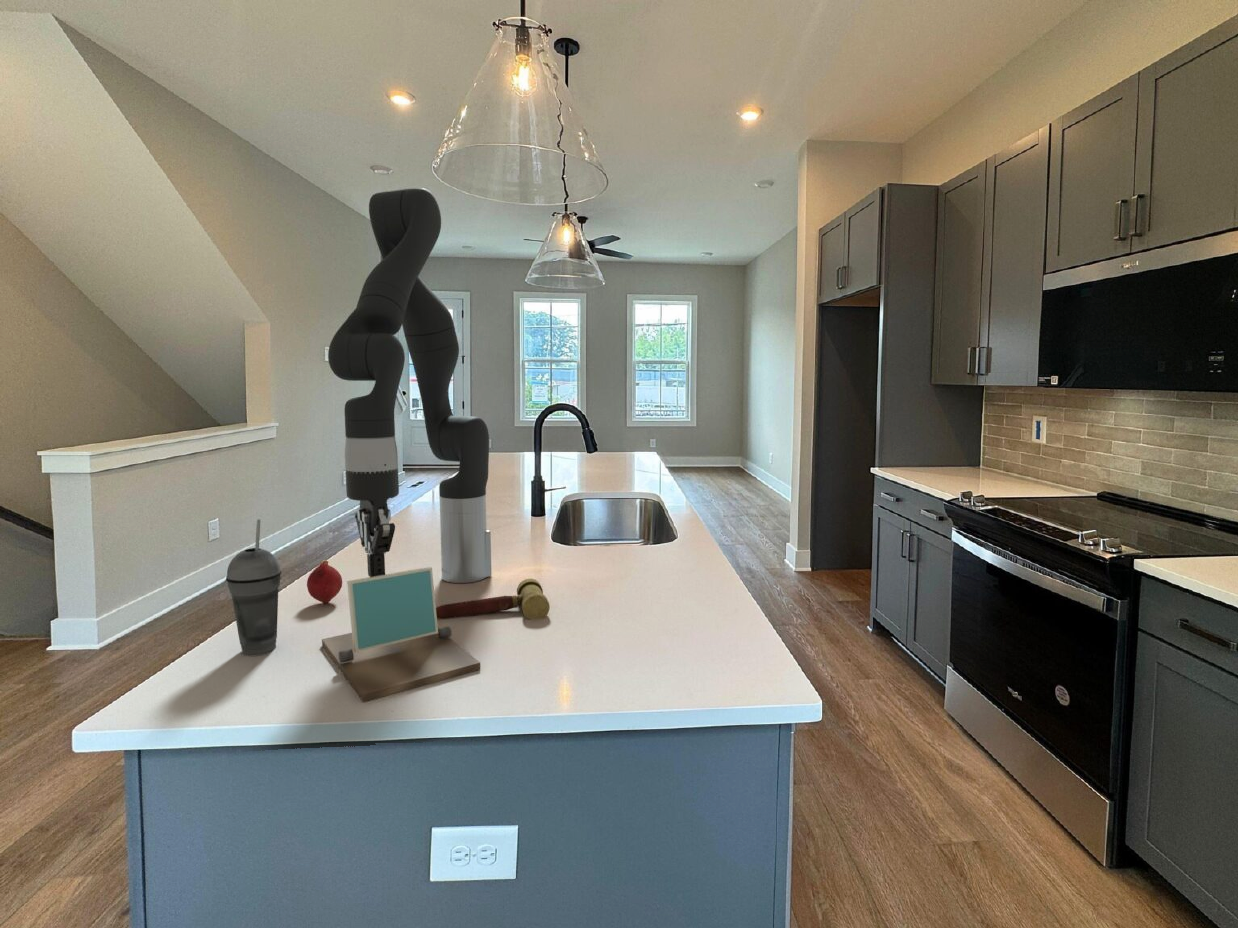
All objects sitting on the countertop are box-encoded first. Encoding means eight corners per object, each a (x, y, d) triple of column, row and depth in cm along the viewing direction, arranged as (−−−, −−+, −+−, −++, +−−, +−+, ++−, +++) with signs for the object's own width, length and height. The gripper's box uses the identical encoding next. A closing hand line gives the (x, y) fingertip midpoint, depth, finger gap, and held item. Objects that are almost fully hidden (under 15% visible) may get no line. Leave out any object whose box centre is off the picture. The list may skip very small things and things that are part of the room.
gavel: (421, 612, 107) (423, 593, 116) (424, 638, 107) (425, 617, 117) (548, 593, 112) (540, 576, 121) (550, 619, 112) (542, 600, 122)
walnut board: (424, 622, 110) (423, 606, 109) (480, 669, 92) (480, 650, 92) (322, 645, 100) (321, 627, 100) (363, 701, 83) (362, 680, 82)
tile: (429, 566, 100) (432, 567, 99) (435, 631, 100) (438, 633, 99) (347, 580, 93) (349, 581, 92) (353, 650, 93) (356, 652, 92)
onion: (329, 609, 116) (327, 565, 115) (300, 607, 117) (298, 563, 116) (349, 599, 121) (347, 557, 120) (321, 596, 122) (319, 555, 121)
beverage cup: (245, 640, 102) (236, 514, 99) (294, 639, 102) (286, 514, 100) (221, 660, 95) (211, 525, 92) (273, 658, 95) (264, 524, 93)
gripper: (411, 469, 96) (415, 583, 98) (383, 460, 107) (387, 563, 109) (358, 473, 92) (363, 592, 94) (335, 463, 102) (340, 571, 105)
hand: (376, 576), depth 101 cm, fingers closed
